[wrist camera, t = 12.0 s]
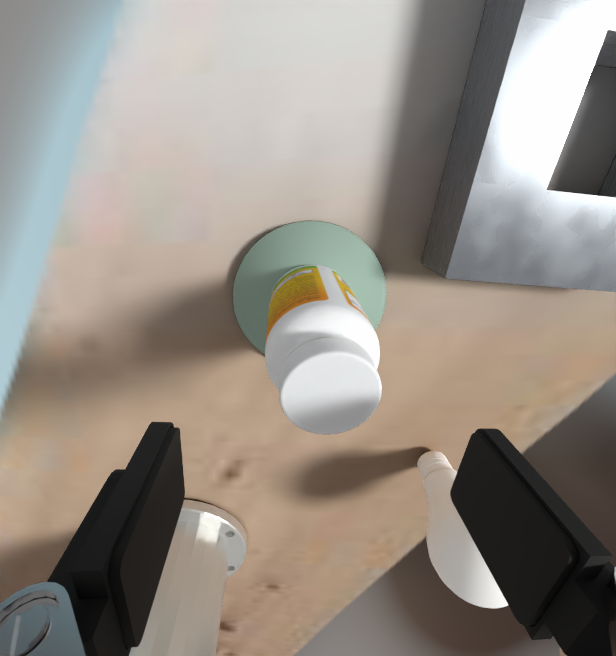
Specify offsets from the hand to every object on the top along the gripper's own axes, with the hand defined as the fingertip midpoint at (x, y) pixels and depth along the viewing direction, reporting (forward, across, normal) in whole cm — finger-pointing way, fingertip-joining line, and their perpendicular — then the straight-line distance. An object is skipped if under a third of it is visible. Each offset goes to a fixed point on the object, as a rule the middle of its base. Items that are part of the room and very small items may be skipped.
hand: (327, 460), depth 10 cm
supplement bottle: (+12, 0, -1) cm, 12 cm away
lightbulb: (+13, -12, +13) cm, 22 cm away
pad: (+13, 0, -1) cm, 13 cm away
